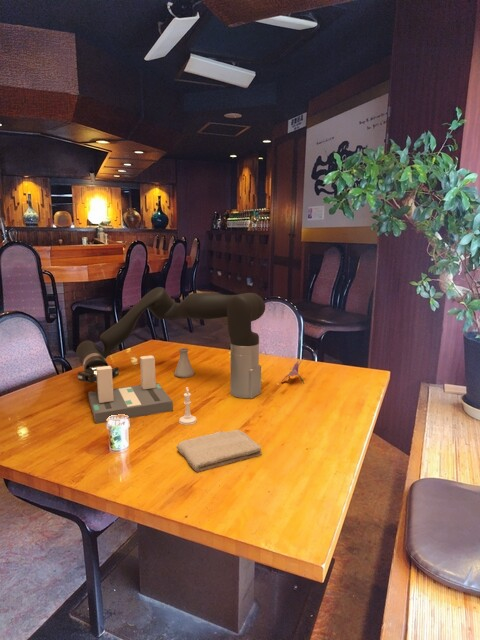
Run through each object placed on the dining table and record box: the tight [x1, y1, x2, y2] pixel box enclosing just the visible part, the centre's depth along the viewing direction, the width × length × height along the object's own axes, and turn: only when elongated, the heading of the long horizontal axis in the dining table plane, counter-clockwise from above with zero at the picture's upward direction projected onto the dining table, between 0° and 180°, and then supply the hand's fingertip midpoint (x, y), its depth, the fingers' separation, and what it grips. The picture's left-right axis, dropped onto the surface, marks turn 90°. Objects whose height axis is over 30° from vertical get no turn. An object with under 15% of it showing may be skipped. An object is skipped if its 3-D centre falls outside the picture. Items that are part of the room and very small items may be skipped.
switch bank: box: [87, 382, 174, 424], centre depth 132 cm, size 18×22×3 cm
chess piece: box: [178, 386, 197, 426], centre depth 120 cm, size 5×5×10 cm
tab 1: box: [96, 365, 114, 403], centre depth 127 cm, size 3×4×10 cm
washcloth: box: [176, 429, 262, 473], centre depth 104 cm, size 12×18×3 cm, turn 119°
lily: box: [281, 358, 305, 384], centre depth 154 cm, size 11×11×9 cm
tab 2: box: [139, 355, 157, 390], centre depth 138 cm, size 3×4×10 cm
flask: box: [173, 348, 195, 379], centre depth 160 cm, size 7×7×10 cm
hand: (102, 382), depth 128 cm, fingers closed
